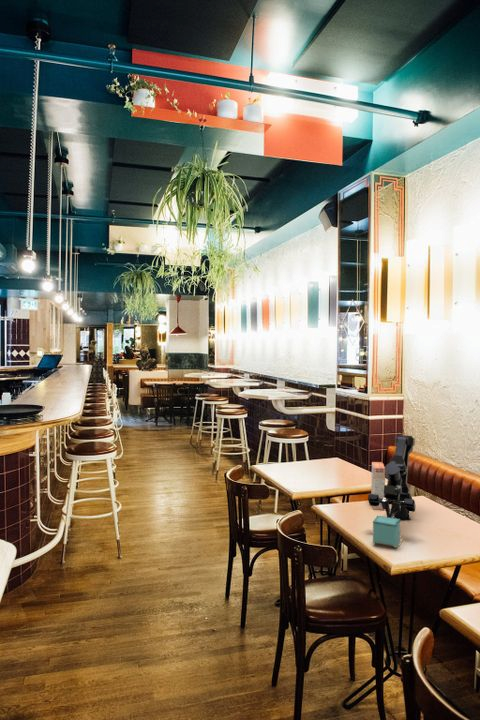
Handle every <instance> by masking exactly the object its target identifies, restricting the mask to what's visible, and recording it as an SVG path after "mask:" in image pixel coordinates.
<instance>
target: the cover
mask: <svg viewBox="0 0 480 720" xmlns="http://www.w3.org/2000/svg"><path fill="white" fill-rule="evenodd" d="M372 525H373V526H372V544H374V545H375V544H377V543H376V542H379V543H384V544H390V545H394V546H393V547H394V548H398V547H397V545H398V543H399V541H400V537H401V520H400V519H396V518H395V517H393V518H390V517H387V516H382V515H376V517H375V518H374V519H373V521H372ZM384 544H383V545H384ZM390 545H389V546H390Z"/></svg>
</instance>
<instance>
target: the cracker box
mask: <svg viewBox="0 0 480 720" xmlns="http://www.w3.org/2000/svg"><path fill="white" fill-rule="evenodd" d="M384 485H386V472H385V465H384V463H383V462H382V461H372V462H371V486H370V487H371V489H370V490H371V491H370V494H377V495H378V496H379V498H385V497H384ZM371 507H372V510H375V511H376V510H378V511H385V509H383V508H382V504H381V503H379V506H371Z"/></svg>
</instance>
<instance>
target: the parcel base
mask: <svg viewBox="0 0 480 720" xmlns="http://www.w3.org/2000/svg"><path fill="white" fill-rule="evenodd" d="M403 541H404V537H403V536H400V541H399V543H398V545H397V547H396V548H400V546H401V544H402V543H403ZM375 544H379V545H384V546H390V547H394V545H390V544H384V543H379V542H376V543H375Z"/></svg>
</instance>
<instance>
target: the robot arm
mask: <svg viewBox="0 0 480 720" xmlns="http://www.w3.org/2000/svg"><path fill="white" fill-rule="evenodd" d="M394 438H395V439H394V440H395V441H394V445H396V446H395V450H394V453H393V454H394V455H393V456H392V457H391V458H390V459H389V463H387V464H386V465H384V467H385V478H386V480H387V484H385V485H384V497H385V498H379V496H378V495H377V494H371V493H369V494H367V502H368V505H370V506H371V507H372V506H379V503H381V504H382V508H383V509H384V511H385V513H386V517H390V518H396V519H400V521H401V520H402V521H403V520H404V521H406V520H407V521H410V520H411V517H410V512H411V513H414V512H416V508H417V507H416V502H415V501H416V500H415V499H414V498H413V497H412V494H411V493H410V492H411V491H410V489H409V487H408V472H409V461H410V460H409V457H410V454H411V453H412V452H413V450H414V446H415V444H416V439H415V438H414V437H413V436H412V435H408V434H407V435H403V434H398V436H396V435H395V437H394ZM390 505H391V507H390Z"/></svg>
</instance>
